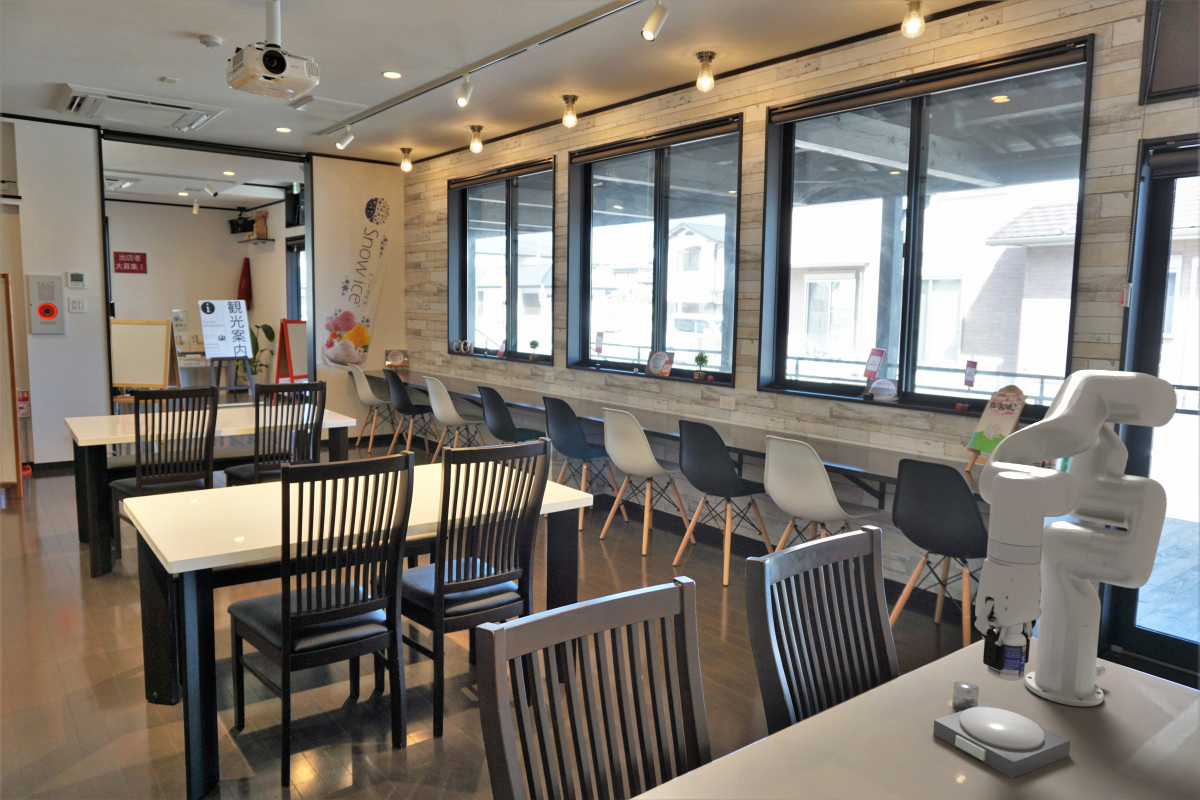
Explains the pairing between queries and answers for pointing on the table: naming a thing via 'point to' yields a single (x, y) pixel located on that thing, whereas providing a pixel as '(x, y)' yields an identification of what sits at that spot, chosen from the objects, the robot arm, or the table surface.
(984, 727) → the scale
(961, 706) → the cylinder
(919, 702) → the table surface
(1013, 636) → the pill bottle
